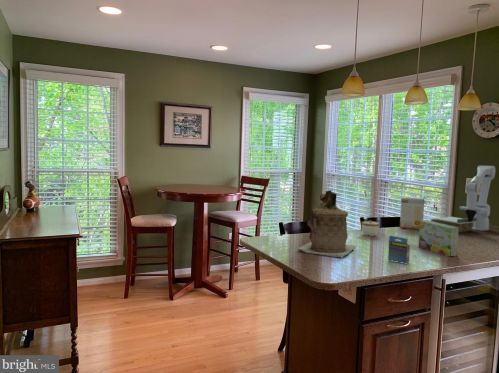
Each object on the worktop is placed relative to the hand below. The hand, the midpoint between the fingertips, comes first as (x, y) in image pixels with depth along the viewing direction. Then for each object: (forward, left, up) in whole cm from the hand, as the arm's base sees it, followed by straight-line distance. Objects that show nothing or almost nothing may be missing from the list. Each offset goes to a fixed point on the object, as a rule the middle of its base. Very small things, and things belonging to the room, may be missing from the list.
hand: (470, 221), depth 258 cm
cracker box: (+24, -26, -8) cm, 36 cm away
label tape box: (+100, +28, -8) cm, 104 cm away
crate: (0, -13, -7) cm, 15 cm away
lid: (0, -10, -1) cm, 10 cm away
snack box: (+65, +23, -8) cm, 69 cm away
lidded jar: (+67, -22, -8) cm, 71 cm away
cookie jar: (+117, -3, -8) cm, 117 cm away
